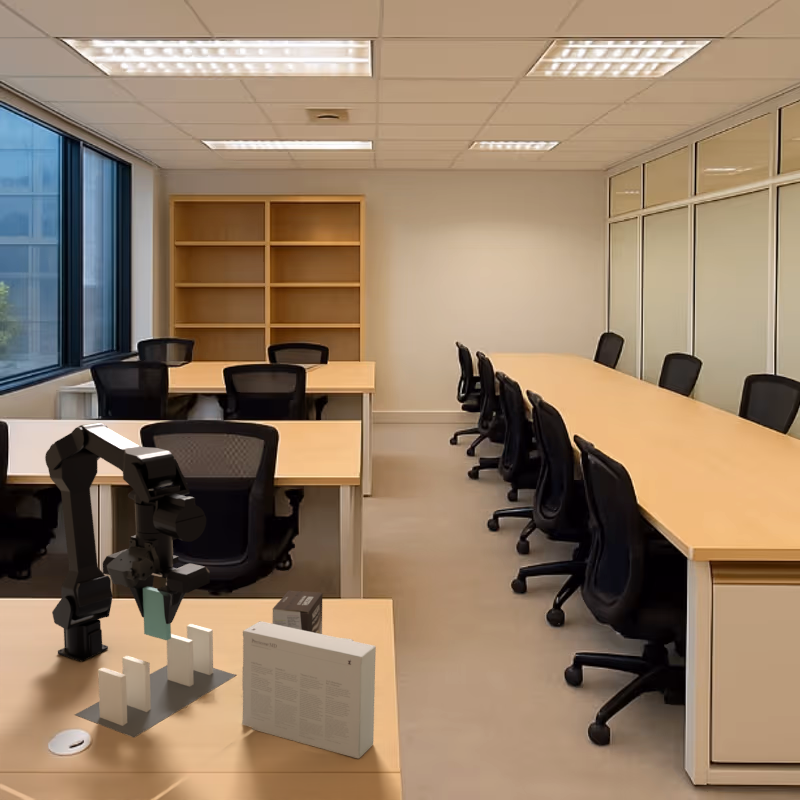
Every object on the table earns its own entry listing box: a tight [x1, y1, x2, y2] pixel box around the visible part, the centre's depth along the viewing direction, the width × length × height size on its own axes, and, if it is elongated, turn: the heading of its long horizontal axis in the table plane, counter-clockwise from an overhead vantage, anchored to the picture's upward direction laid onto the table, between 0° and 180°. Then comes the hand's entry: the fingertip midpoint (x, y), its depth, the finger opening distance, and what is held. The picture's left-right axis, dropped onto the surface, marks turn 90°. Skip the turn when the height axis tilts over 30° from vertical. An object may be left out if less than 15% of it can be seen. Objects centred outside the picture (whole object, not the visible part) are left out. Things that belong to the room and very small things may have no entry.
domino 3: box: [166, 633, 194, 687], centre depth 152 cm, size 5×1×8 cm, turn 61°
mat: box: [74, 664, 237, 738], centre depth 149 cm, size 13×24×1 cm, turn 151°
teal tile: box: [143, 586, 172, 641], centre depth 147 cm, size 5×1×8 cm, turn 61°
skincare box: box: [241, 621, 377, 759], centre depth 136 cm, size 21×5×16 cm, turn 65°
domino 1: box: [97, 667, 127, 726], centre depth 139 cm, size 5×1×8 cm, turn 61°
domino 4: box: [186, 623, 214, 675], centre depth 156 cm, size 5×1×8 cm, turn 61°
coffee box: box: [272, 590, 324, 634], centre depth 150 cm, size 9×6×16 cm
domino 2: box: [121, 655, 151, 712], centre depth 144 cm, size 5×1×8 cm, turn 61°
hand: (157, 620), depth 147 cm, fingers closed on teal tile, 5 cm apart
